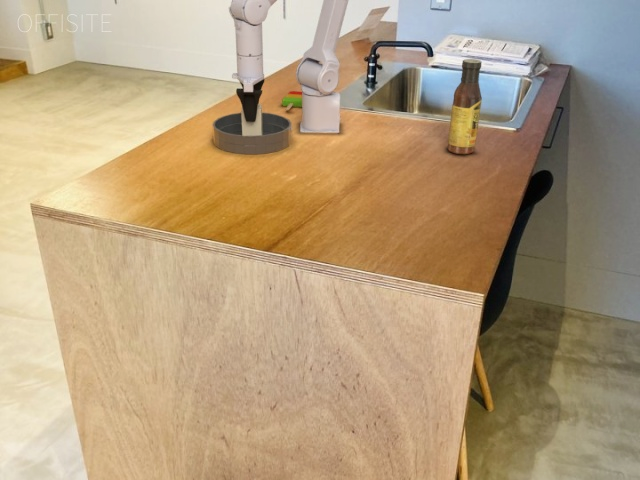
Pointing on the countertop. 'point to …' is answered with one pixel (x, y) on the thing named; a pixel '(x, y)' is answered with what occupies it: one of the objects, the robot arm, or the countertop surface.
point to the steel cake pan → (232, 140)
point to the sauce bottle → (465, 110)
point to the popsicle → (292, 100)
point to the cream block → (252, 124)
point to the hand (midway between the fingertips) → (251, 116)
